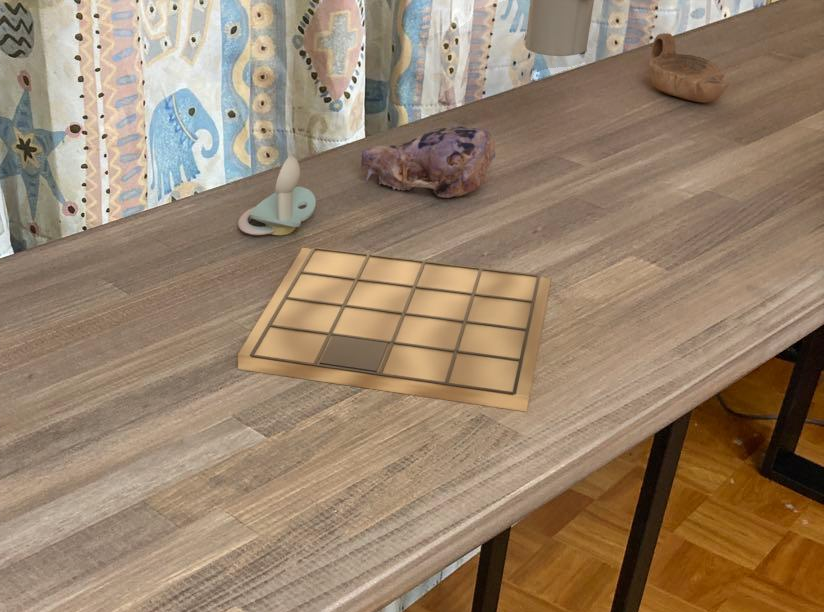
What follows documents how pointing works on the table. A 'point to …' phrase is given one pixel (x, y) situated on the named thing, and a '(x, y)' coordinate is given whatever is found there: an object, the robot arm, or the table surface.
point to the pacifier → (281, 205)
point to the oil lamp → (684, 73)
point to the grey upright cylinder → (558, 26)
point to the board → (403, 327)
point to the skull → (434, 161)
